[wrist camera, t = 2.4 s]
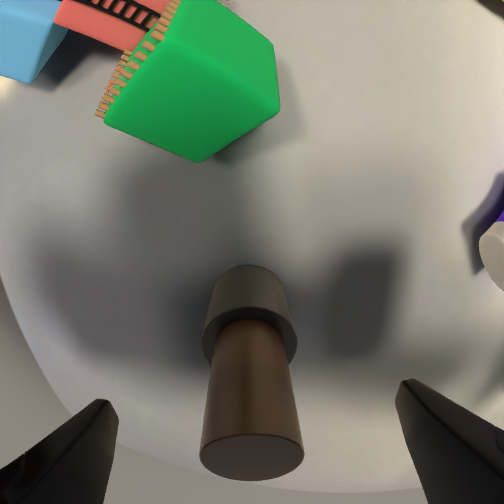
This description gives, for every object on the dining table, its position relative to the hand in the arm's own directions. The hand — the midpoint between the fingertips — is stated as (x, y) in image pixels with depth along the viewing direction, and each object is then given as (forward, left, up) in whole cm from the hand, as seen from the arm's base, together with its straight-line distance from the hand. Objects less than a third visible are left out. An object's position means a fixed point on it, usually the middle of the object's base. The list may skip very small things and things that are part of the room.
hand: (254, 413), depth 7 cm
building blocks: (+13, +5, -8) cm, 15 cm away
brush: (0, 0, -7) cm, 7 cm away
